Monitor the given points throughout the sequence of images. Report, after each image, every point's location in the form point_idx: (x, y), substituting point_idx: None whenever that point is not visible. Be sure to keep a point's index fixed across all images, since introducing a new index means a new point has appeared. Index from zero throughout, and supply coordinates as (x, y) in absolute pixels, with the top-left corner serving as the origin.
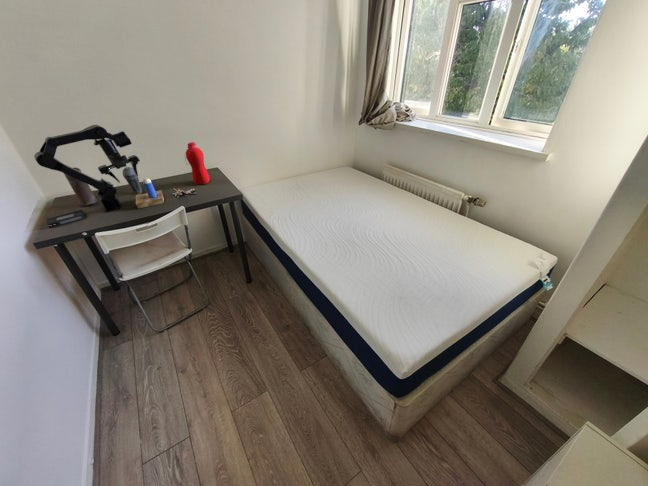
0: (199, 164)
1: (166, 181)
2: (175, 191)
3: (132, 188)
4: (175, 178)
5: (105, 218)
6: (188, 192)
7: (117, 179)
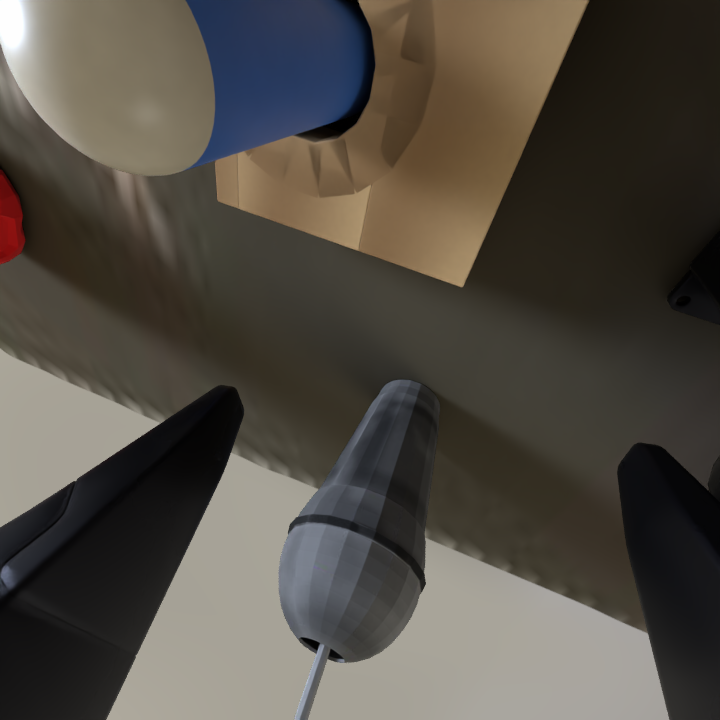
0: None
1: None
2: None
3: (429, 434)
4: (175, 396)
5: None
6: None
7: (714, 533)
